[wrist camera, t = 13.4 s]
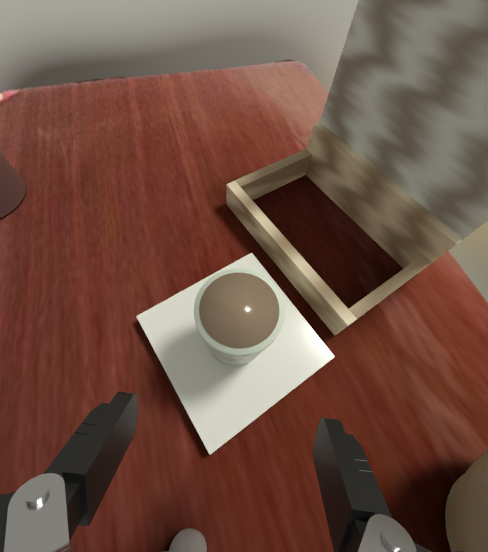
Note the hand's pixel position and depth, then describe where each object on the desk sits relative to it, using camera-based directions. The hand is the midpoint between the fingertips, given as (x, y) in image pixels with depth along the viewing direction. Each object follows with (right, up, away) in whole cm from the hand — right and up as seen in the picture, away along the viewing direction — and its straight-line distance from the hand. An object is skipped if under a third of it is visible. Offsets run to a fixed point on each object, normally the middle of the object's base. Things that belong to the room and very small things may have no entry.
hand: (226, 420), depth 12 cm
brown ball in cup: (0, 0, +15) cm, 15 cm away
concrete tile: (0, 0, +16) cm, 16 cm away
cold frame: (+10, +11, +22) cm, 27 cm away
